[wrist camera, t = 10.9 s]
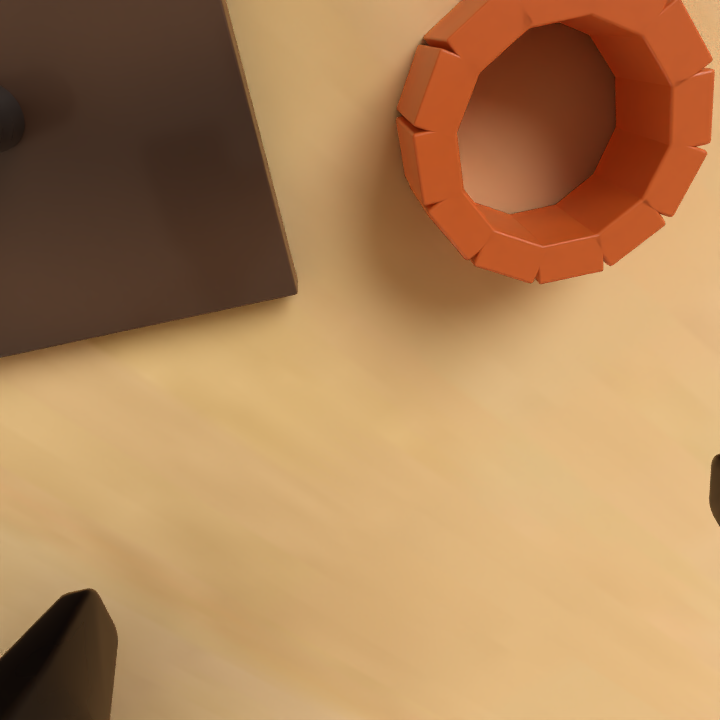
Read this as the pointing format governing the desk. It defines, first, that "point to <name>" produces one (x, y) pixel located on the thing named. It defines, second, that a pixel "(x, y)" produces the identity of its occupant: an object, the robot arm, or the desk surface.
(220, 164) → the peg board
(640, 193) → the ring
